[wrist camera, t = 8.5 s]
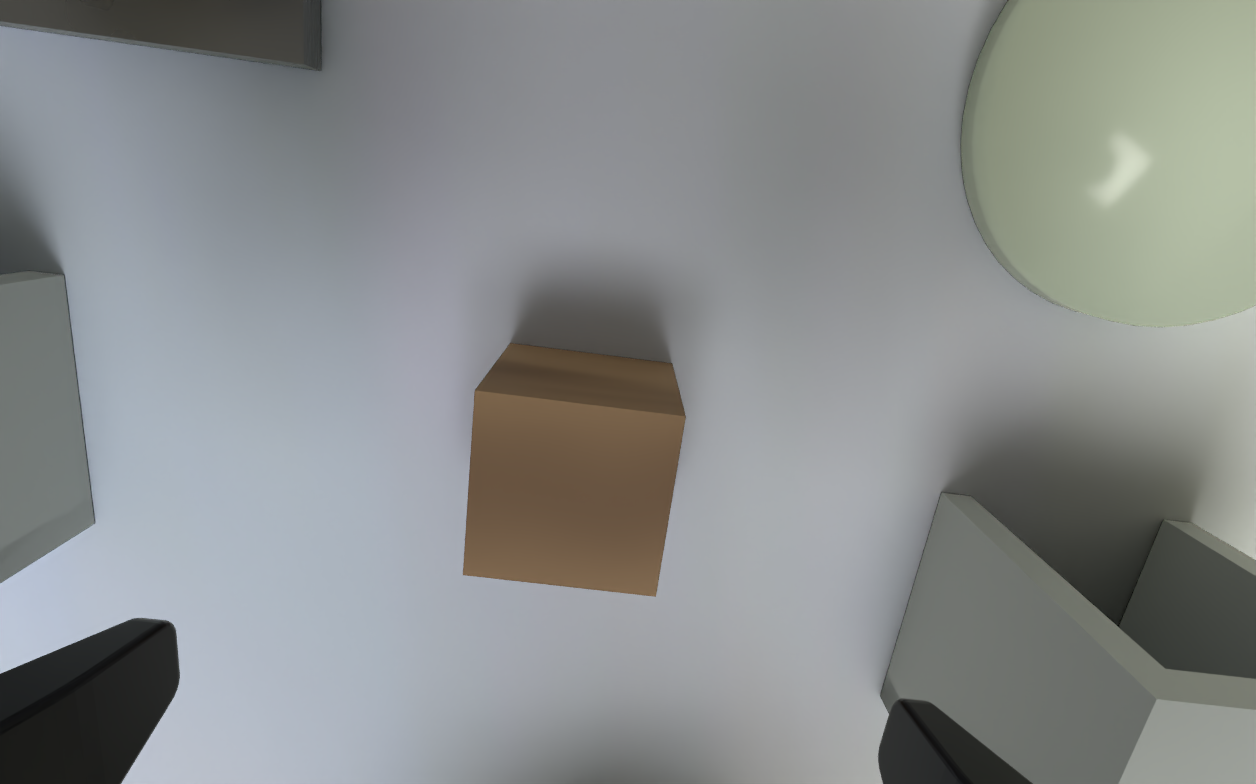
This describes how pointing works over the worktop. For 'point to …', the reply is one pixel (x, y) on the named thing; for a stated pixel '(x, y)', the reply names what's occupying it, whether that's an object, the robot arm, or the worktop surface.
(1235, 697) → the cover
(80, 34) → the balance
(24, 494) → the cover
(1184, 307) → the dish
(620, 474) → the block
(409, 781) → the worktop surface
